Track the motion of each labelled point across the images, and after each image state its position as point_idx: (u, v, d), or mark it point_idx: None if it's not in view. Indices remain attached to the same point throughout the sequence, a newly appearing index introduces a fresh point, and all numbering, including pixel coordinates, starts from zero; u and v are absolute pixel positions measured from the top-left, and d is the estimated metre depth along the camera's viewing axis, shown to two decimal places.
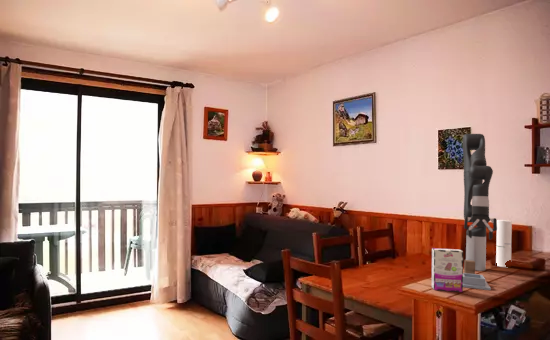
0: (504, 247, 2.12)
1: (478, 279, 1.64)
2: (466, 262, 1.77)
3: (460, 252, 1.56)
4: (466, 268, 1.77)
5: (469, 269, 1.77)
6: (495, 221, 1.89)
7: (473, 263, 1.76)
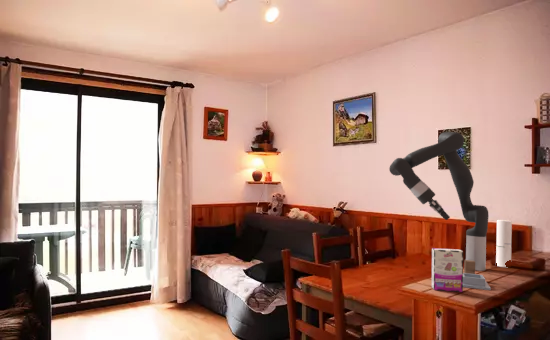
0: (504, 247, 2.12)
1: (478, 279, 1.64)
2: (466, 262, 1.77)
3: (460, 252, 1.56)
4: (466, 268, 1.77)
5: (469, 269, 1.77)
6: (432, 205, 1.79)
7: (473, 263, 1.76)
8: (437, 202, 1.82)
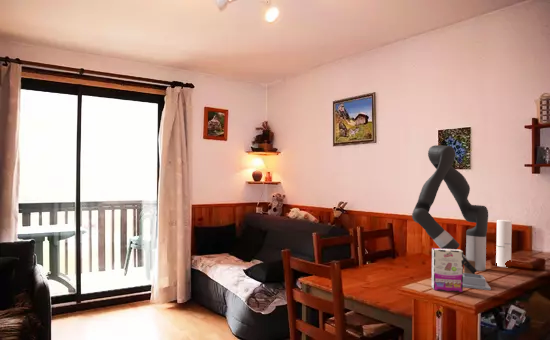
0: (504, 247, 2.12)
1: (478, 279, 1.64)
2: (466, 262, 1.77)
3: (460, 252, 1.56)
4: (466, 268, 1.77)
5: None
6: None
7: (473, 263, 1.76)
8: None
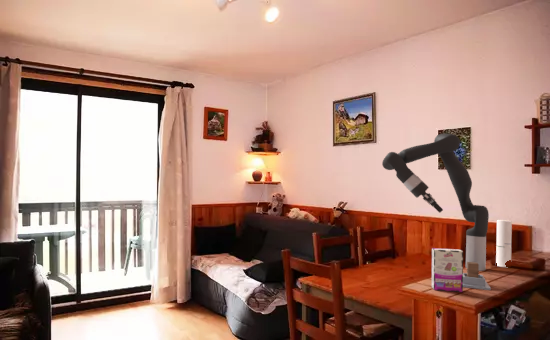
0: (504, 247, 2.12)
1: (478, 279, 1.64)
2: (469, 264, 1.67)
3: (460, 252, 1.56)
4: (469, 270, 1.67)
5: (472, 272, 1.66)
6: (425, 198, 1.80)
7: (476, 265, 1.66)
8: (430, 195, 1.83)
